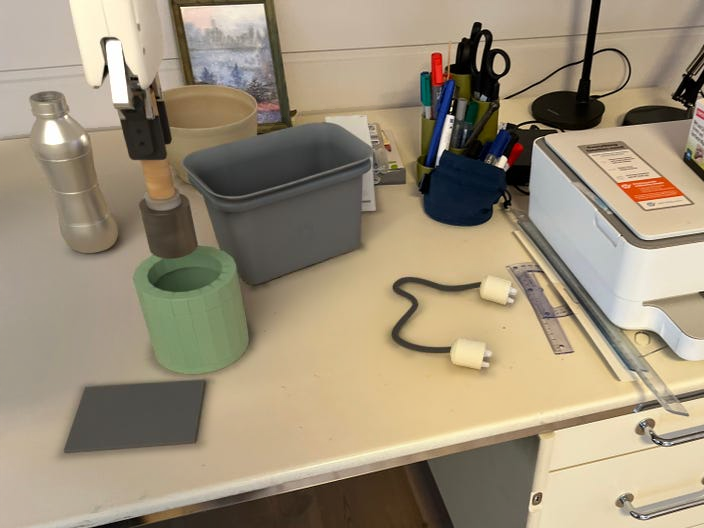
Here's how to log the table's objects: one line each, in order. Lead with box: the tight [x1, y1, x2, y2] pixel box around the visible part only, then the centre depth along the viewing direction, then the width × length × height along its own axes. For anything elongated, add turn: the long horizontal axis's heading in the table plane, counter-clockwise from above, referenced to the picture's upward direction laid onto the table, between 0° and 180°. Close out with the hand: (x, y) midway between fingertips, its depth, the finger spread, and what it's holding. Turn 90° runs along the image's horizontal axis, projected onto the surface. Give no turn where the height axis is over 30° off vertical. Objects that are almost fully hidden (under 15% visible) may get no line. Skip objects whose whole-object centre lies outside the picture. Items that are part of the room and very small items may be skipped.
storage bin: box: [181, 121, 375, 286], centre depth 96 cm, size 21×16×14 cm
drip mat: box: [63, 379, 206, 454], centre depth 76 cm, size 12×9×1 cm
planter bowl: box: [157, 84, 259, 185], centre depth 113 cm, size 16×16×11 cm
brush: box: [132, 88, 199, 259], centre depth 71 cm, size 5×5×16 cm
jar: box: [132, 244, 250, 375], centre depth 82 cm, size 10×10×10 cm
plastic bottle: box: [28, 90, 119, 254], centre depth 93 cm, size 6×7×20 cm
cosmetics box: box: [324, 114, 377, 212], centre depth 110 cm, size 10×6×10 cm, turn 11°
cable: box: [391, 274, 518, 370], centre depth 90 cm, size 16×16×4 cm
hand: (151, 149), depth 70 cm, fingers closed on brush, 2 cm apart
